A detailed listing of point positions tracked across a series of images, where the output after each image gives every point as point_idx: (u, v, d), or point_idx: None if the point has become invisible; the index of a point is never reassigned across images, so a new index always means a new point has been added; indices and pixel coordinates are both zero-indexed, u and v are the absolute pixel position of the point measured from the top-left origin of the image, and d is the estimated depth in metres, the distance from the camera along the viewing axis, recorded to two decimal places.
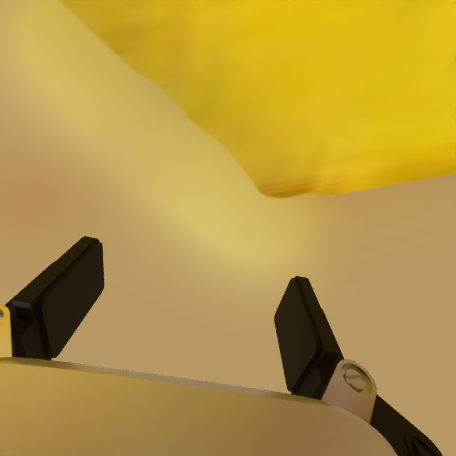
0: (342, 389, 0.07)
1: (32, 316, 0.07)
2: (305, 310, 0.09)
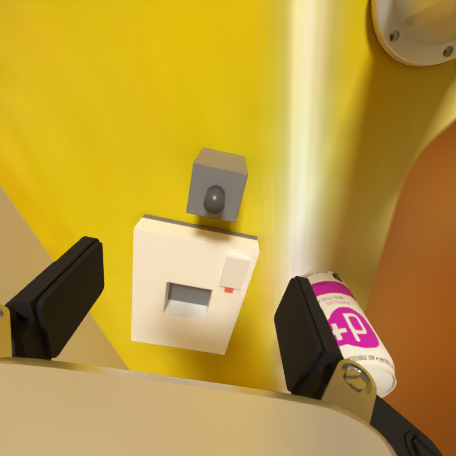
0: (342, 389, 0.07)
1: (32, 316, 0.07)
2: (305, 310, 0.09)
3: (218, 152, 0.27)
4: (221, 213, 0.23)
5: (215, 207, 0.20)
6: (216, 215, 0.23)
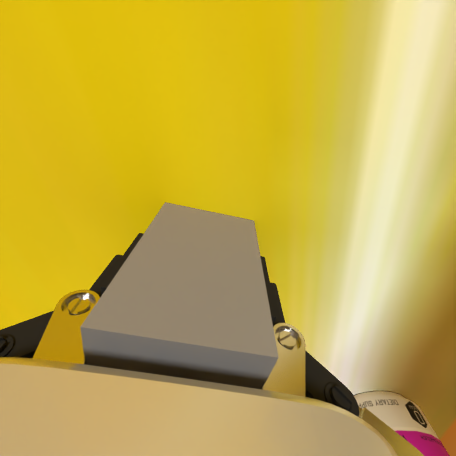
0: (279, 353, 0.07)
1: None
2: None
3: (196, 217, 0.12)
4: None
5: None
6: None
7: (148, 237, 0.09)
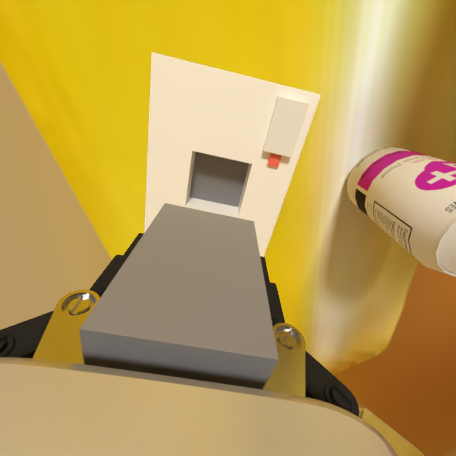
0: (279, 353, 0.07)
1: None
2: None
3: (196, 217, 0.12)
4: None
5: None
6: None
7: (147, 238, 0.09)
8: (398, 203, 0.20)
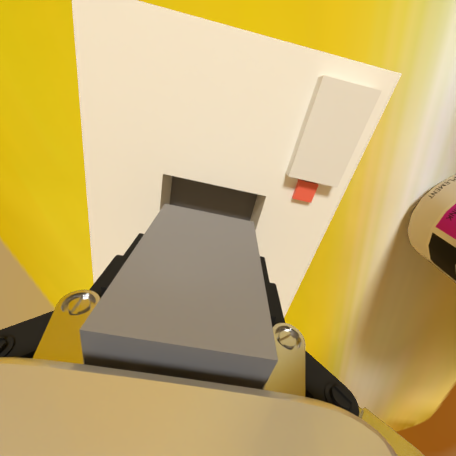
0: (279, 353, 0.07)
1: None
2: None
3: (196, 218, 0.12)
4: None
5: None
6: None
7: (147, 239, 0.09)
8: None
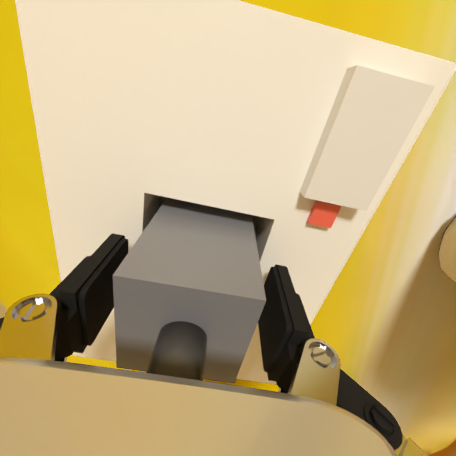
0: (311, 368, 0.07)
1: (75, 305, 0.08)
2: (280, 295, 0.10)
3: None
4: None
5: None
6: None
7: (159, 217, 0.11)
8: None
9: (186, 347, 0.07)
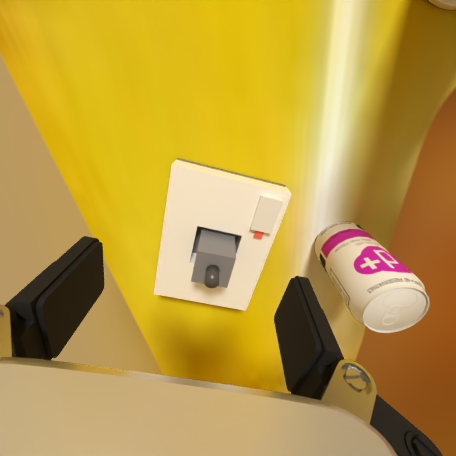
0: (342, 389, 0.07)
1: (32, 316, 0.07)
2: (305, 310, 0.09)
3: None
4: None
5: (212, 284, 0.28)
6: None
7: (202, 234, 0.33)
8: (343, 276, 0.29)
9: (215, 269, 0.29)
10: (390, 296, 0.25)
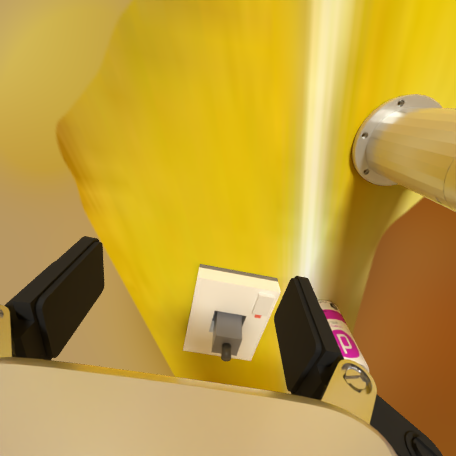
0: (342, 389, 0.07)
1: (32, 316, 0.07)
2: (305, 310, 0.09)
3: None
4: None
5: (226, 359, 0.42)
6: None
7: (218, 316, 0.47)
8: None
9: (228, 347, 0.43)
10: None
